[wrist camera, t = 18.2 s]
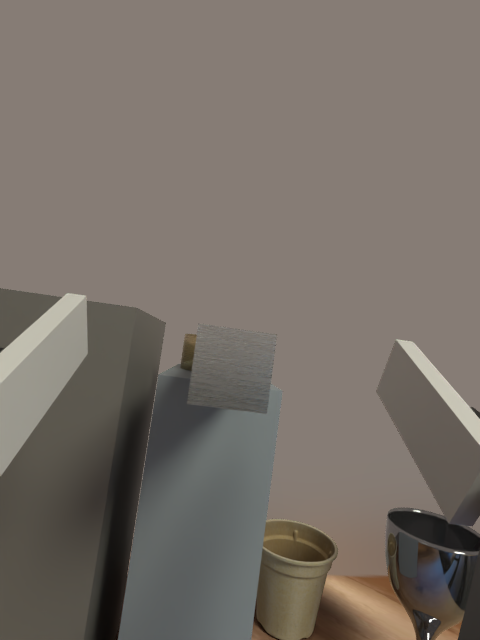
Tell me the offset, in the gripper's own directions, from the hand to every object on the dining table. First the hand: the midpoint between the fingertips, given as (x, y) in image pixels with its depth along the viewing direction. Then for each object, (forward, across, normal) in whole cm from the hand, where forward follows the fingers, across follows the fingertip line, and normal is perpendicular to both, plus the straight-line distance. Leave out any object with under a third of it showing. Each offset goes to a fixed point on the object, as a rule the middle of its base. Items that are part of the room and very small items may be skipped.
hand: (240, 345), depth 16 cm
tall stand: (0, -11, -32) cm, 34 cm away
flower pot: (+8, +11, -38) cm, 40 cm away
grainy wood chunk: (+7, 0, -7) cm, 10 cm away
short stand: (-1, 0, -32) cm, 33 cm away
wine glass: (0, +21, -33) cm, 39 cm away
